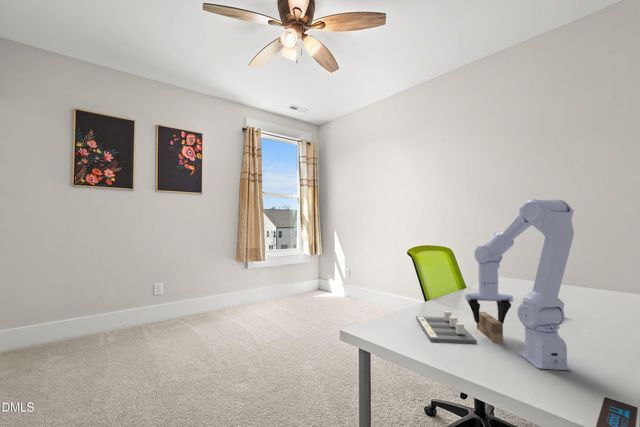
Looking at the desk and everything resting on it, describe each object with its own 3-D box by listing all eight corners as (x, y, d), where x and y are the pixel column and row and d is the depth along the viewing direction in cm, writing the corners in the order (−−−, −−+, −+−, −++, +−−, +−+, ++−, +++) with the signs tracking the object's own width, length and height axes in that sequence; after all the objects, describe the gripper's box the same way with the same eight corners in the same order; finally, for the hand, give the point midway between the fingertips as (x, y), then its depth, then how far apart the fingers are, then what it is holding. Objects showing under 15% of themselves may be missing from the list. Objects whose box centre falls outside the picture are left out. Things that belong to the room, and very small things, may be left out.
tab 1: (451, 321, 110) (451, 312, 110) (445, 320, 110) (445, 312, 110) (449, 319, 112) (449, 310, 112) (443, 319, 112) (443, 310, 112)
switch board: (476, 343, 93) (476, 339, 93) (430, 341, 95) (430, 337, 95) (453, 320, 115) (453, 317, 115) (416, 318, 116) (416, 315, 117)
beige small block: (464, 334, 97) (463, 324, 97) (457, 334, 97) (457, 324, 97) (461, 332, 99) (461, 322, 99) (455, 331, 99) (455, 322, 99)
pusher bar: (503, 342, 94) (502, 323, 94) (493, 342, 94) (492, 323, 94) (485, 329, 106) (485, 312, 106) (476, 328, 106) (476, 311, 106)
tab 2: (457, 327, 103) (457, 318, 103) (451, 327, 104) (451, 318, 104) (455, 325, 105) (455, 316, 105) (449, 325, 106) (449, 316, 106)
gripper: (505, 279, 104) (505, 319, 103) (461, 279, 105) (461, 317, 105) (516, 284, 97) (516, 326, 96) (469, 283, 98) (469, 324, 98)
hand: (488, 322), depth 100 cm, fingers open, 7 cm apart
